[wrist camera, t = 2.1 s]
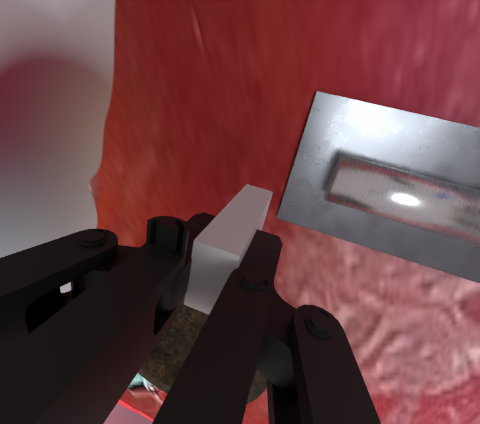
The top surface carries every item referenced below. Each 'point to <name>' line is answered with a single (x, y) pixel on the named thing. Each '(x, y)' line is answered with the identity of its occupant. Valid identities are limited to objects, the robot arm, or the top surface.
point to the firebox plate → (389, 154)
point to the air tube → (406, 198)
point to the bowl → (183, 352)
